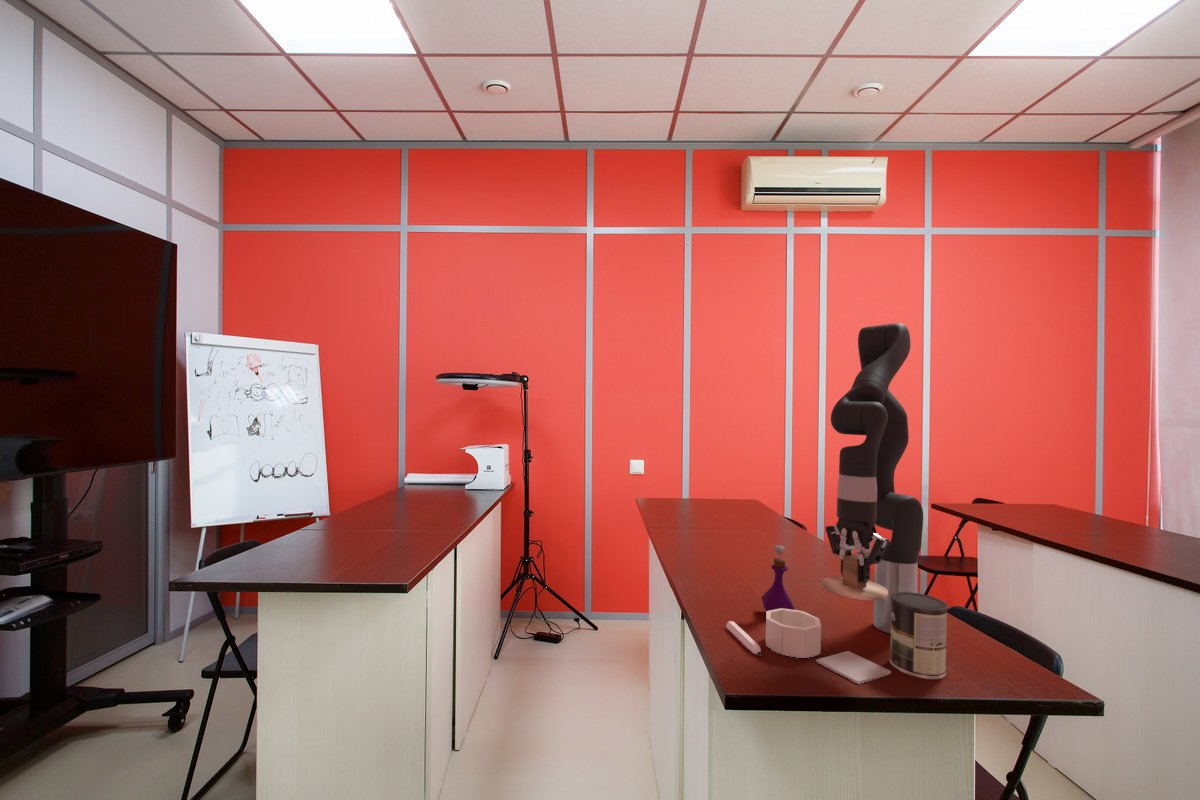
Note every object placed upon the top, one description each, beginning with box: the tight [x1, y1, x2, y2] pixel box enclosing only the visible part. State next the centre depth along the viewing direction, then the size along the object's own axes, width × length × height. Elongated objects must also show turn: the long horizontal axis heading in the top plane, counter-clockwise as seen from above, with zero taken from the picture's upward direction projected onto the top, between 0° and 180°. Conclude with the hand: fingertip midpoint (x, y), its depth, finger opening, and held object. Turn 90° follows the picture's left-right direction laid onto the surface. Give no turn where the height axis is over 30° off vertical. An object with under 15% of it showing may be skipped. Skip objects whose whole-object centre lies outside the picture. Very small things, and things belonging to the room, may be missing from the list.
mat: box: [816, 650, 892, 685], centre depth 112 cm, size 10×10×1 cm
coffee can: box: [889, 592, 949, 680], centre depth 113 cm, size 10×10×14 cm
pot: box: [765, 608, 822, 659], centre depth 121 cm, size 11×11×6 cm
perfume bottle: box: [761, 545, 796, 612], centre depth 139 cm, size 8×8×18 cm
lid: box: [821, 553, 888, 601], centre depth 112 cm, size 12×12×7 cm
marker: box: [725, 620, 762, 657], centre depth 122 cm, size 3×2×16 cm
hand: (854, 579), depth 112 cm, fingers closed on lid, 3 cm apart
